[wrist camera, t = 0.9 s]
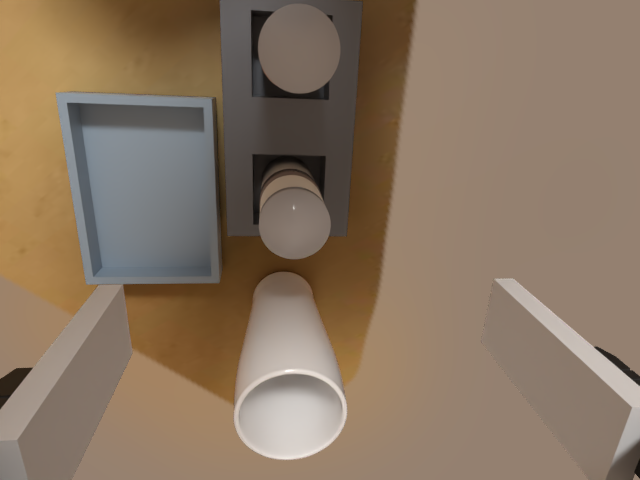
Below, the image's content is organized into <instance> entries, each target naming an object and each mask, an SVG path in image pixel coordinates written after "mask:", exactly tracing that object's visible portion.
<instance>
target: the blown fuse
mask: <svg viewBox="0 0 640 480" xmlns="http://www.w3.org/2000/svg"><path fill="white" fill-rule="evenodd" d="M259 207H260V216H259V232H260V236H261V238H262V240H263V242H264V244H265V245H266V247H267V248H268V249H269V250H270V251H272V252H273V253H274V254H276V255H278V256H280V257H283V258H287V259H301V258H305V257H308V256H311V255H313V254H314V253H316V252H317V251H318V250H320V249H321V248H322V246H323V245H324V244H325V242H326V241H327V239H328V236H329V233H330V228H331V221H330V216H329V213H328V210H327V208H326V206H325V204H324V201H323V199H322V195H321V193H320V190H319V188H318V186H317V184H316V182H315V181H314V179H313V176H312V174H311V172H310V170H309V168H308V166H307V165H306V164H305V163H304V162H303V161H301V160H299V159H298V158H295V157H290V156H284V157H279V158H277V159H275V160H273V161H272V162H270V163H269V164H268V165H267V167H266V168H265V170H264V172H263V175H262V185H261V192H260V204H259Z"/></svg>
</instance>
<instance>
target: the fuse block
mask: <svg viewBox="0 0 640 480" xmlns="http://www.w3.org/2000/svg"><path fill="white" fill-rule="evenodd" d="M290 4H307V5H310V6H313V7H315V8H317V9H319V10H320V11H322V12H323V13H324V14H325V15H327V17H328V18H329V19H330V20H331V21H332V23H333V24H334V26H335V28H336V30H337V33H338V36H339V40H340V59H339V63H338V66H337V69H336V71H335V73H334V74H333V76H332V77H331V79H330V80H329V81H328V82H327V83H326V84H325V85H324V86H322V87H321V88H319V89H317V90H315V91H312V92H309V93H301V94H298V93H291V92H288V91H285V90H283V89H281V88H279V87H278V86H276V85H275V84H273V83H272V82H271V81H270V80H269V79H268V77H267V76H266V75H265V73H264V71H263V69H262V66H261V63H260V60H259V54H258V41H259V36H260V32H261V30H262V27H263V25H264V24H265V22H266V20H267V19H268V18H269V17H270V16H271V15H272V14H273V13H274V12H275V11H277V10H278V9H280V8H282V7H284V6H287V5H290ZM362 8H363V1H352V0H220V26H221V56H222V87H223V117H224V148H225V178H226V209H227V236H260V232H259V216H260V207H259V204H260V192H261V185H262V175H263V172H264V170H265V168H266V167H267V165H268V164H269V163H270V162H272V161H273V160H275V159H277V158H279V157H284V156H290V157H295V158H298V159H299V160H301V161H303V162H304V163H305V164H306V165H307V166H308V168H309V170H310V172H311V174H312V176H313V179H314V181H315V182H316V184H317V186H318V188H319V190H320V193H321V195H322V199H323V201H324V204H325V206H326V208H327V210H328V213H329V216H330V221H331V228H330V233H329V236H347V226H348V212H349V197H350V183H351V168H352V154H353V139H354V125H355V110H356V95H357V81H358V66H359V52H360V37H361V23H362Z"/></svg>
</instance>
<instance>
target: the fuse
mask: <svg viewBox="0 0 640 480" xmlns="http://www.w3.org/2000/svg"><path fill="white" fill-rule="evenodd" d="M258 54H259V60H260V63H261V66H262V69H263V71H264V73H265V75H266V76H267V77H268V79H269V80H270V81H271V82H272V83H273V84H275V85H276V86H278V87H279V88H281V89H283V90H285V91H288V92H291V93H298V94H301V93H309V92H312V91H315V90H317V89H319V88H321V87H322V86H324V85H325V84H326V83H327V82H328V81H329V80H330V79H331V77H332V76H333V74H334V73H335V71H336V69H337V66H338V63H339V59H340V40H339V36H338V33H337V30H336V28H335V26H334V24H333V23H332V21H331V20H330V19H329V18H328V17H327V15H325V14H324V13H323V12H322V11H320V10H319V9H317V8H315V7H313V6H310V5H307V4H290V5H287V6H284V7H282V8H280V9H278V10H277V11H275V12H274V13H273V14H272V15H271V16H270V17H269V18H268V19H267V20H266V22H265V24H264V25H263V27H262V30H261V32H260V36H259V41H258Z"/></svg>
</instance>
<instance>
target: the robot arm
mask: <svg viewBox="0 0 640 480" xmlns="http://www.w3.org/2000/svg"><path fill="white" fill-rule="evenodd" d="M481 343H482V344H483V345H484V347H485V348H486V349H487V350H488V352H489V353H490V354H491V356H492V357H493V358H494V359H495V361H496V362H497V363H498V364H499V366H500V367H501V368H502V370H503V371H504V372H505V373H506V375H507V376H508V377H509V379H510V380H511V381H512V382H513V384H514V385H515V386H516V388H517V389H518V390H519V391H520V393H521V394H522V395H523V397H524V398H525V399H526V400H527V402H528V403H529V404H530V405H531V407H532V408H533V409H534V411H535V412H536V413H537V414H538V416H539V417H540V418H541V420H542V421H543V422H544V423H545V425H546V426H547V427H548V429H549V430H550V431H551V432H552V434H553V435H554V436H555V437H556V439H557V440H558V441H559V442H560V444H561V445H562V446H563V448H564V449H565V450H566V452H567V453H568V454H569V455H570V457H571V458H572V459H573V460H574V462H575V463H576V464H577V466H578V467H579V468H580V469H581V470H582V472H583V473H584V475H585V476H586V477H587V478H588V480H633V478H634V475H635V474H636V475H637V476H638V477H639V478H640V376H639V375H637V374H636V373H635V372H634V371H630V368H629V367H628V366H626V365H625V364H624V363H623V362H622V361H620V360H619V359H618V358H617V357H615V356H614V355H612V354H610V353H608V352H606V351H604V350H603V349H601V348H599V347H593V346H592V345H591V344H589V343H588V342H587V341H586V340H585V339H583V338H582V337H581V336H580V335H579V334H578V333H576V332H575V331H574V330H573V329H572V328H570V327H569V326H568V325H567V324H566V323H565V322H564V321H562V320H561V319H560V318H559V317H558V316H556V315H555V314H554V313H553V312H552V311H551V310H549V309H548V308H547V307H546V306H545V305H544V304H542V303H541V302H540V301H539V300H538V299H537V298H535V297H534V296H533V295H532V294H531V293H529V292H528V291H527V290H526V289H525V288H524V287H522V286H521V285H520V284H519V283H518V282H516V281H515V280H514V279H493V284H492V289H491V294H490V300H489V305H488V309H487V315H486V319H485V324H484V329H483V334H482V339H481ZM131 355H132V346H131V339H130V331H129V324H128V317H127V310H126V303H125V295H124V288H123V284H113V285H98V287H97V288H96V289H95V290H94V292H93V293H92V294H91V295H90V297H89V298H88V299H87V300H86V302H85V303H84V304H83V305H82V307H81V308H80V309H79V311H78V312H77V313H76V314H75V316H74V317H73V318H72V319H71V321H70V322H69V323H68V324H67V326H66V327H65V328H64V330H63V331H62V332H61V333H60V335H59V336H58V337H57V338H56V340H55V341H54V342H53V343H52V345H51V346H50V347H49V349H48V350H47V351H46V352H45V354H44V355H43V356H42V358H41V359H40V360H39V361H38V362H37V364H36V365H35V366H34V367H33V368H16V369H15V370H13V371H12V372H10V373H9V374H7V375H6V376H4V377H3V378H1V379H0V480H72V478H73V476H74V474H75V472H76V470H77V468H78V466H79V464H80V462H81V459H82V457H83V455H84V453H85V451H86V449H87V447H88V445H89V443H90V441H91V438H92V436H93V435H94V432H95V430H96V428H97V426H98V424H99V422H100V420H101V418H102V416H103V414H104V412H105V409H106V408H107V405H108V403H109V401H110V399H111V397H112V395H113V393H114V391H115V389H116V387H117V385H118V382H119V380H120V378H121V376H122V374H123V372H124V370H125V368H126V366H127V364H128V362H129V360H130V358H131Z"/></svg>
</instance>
